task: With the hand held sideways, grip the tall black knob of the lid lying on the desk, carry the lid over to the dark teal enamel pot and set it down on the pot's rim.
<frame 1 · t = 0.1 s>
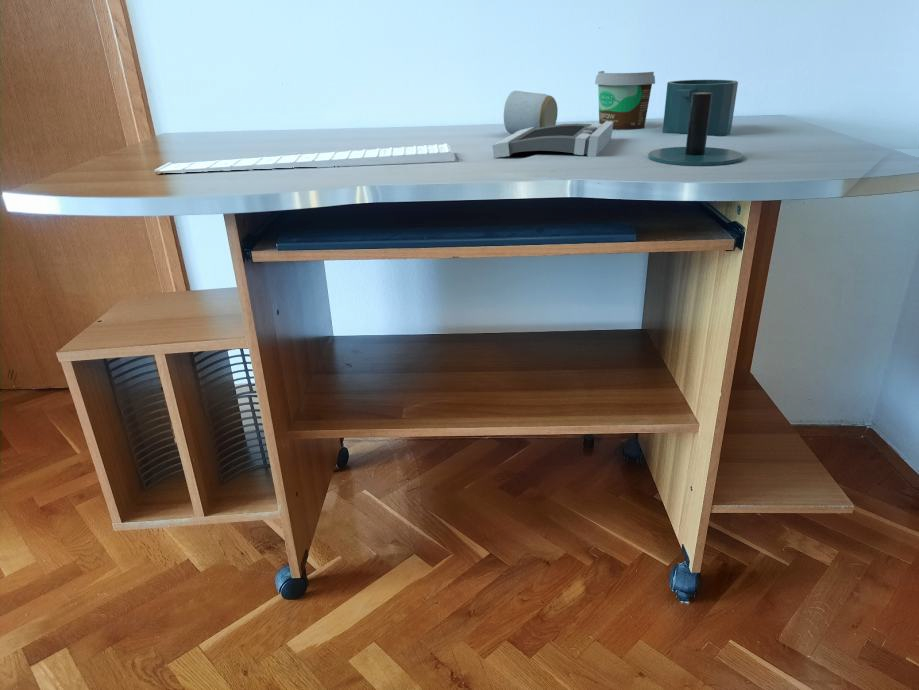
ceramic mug: (532, 135, 121), on the table
keyboard: (309, 165, 100), on the table
food container: (614, 128, 125), on the table
grey curved frame: (553, 151, 104), on the table
lid: (694, 157, 90), point 1 cm above the table
pot: (695, 132, 116), on the table
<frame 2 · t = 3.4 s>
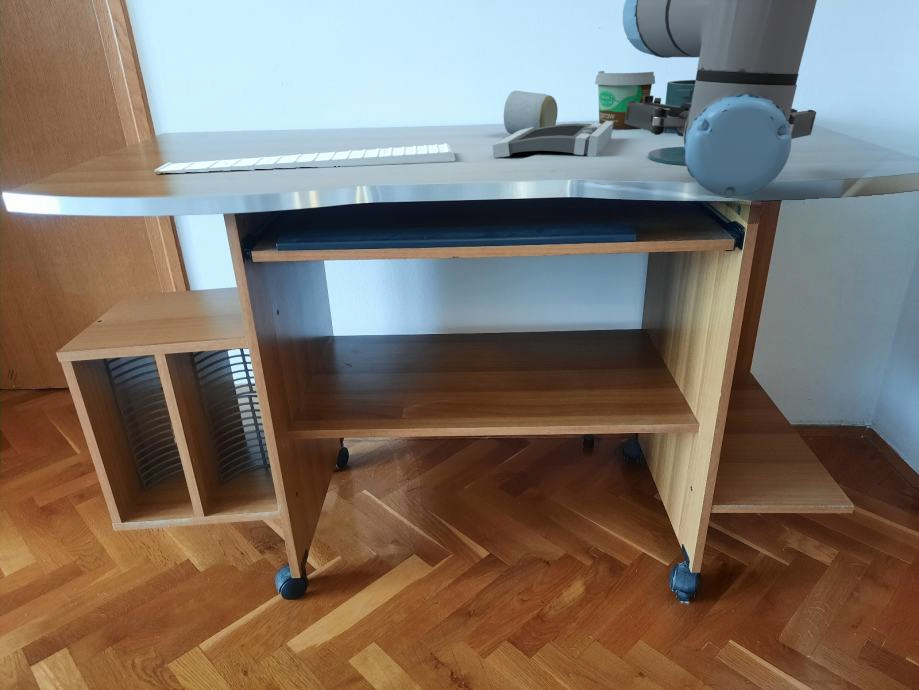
hand: (712, 112, 80), 8 cm above the table, tool horizontal, fingers open, 13 cm apart
nothing on the table moved.
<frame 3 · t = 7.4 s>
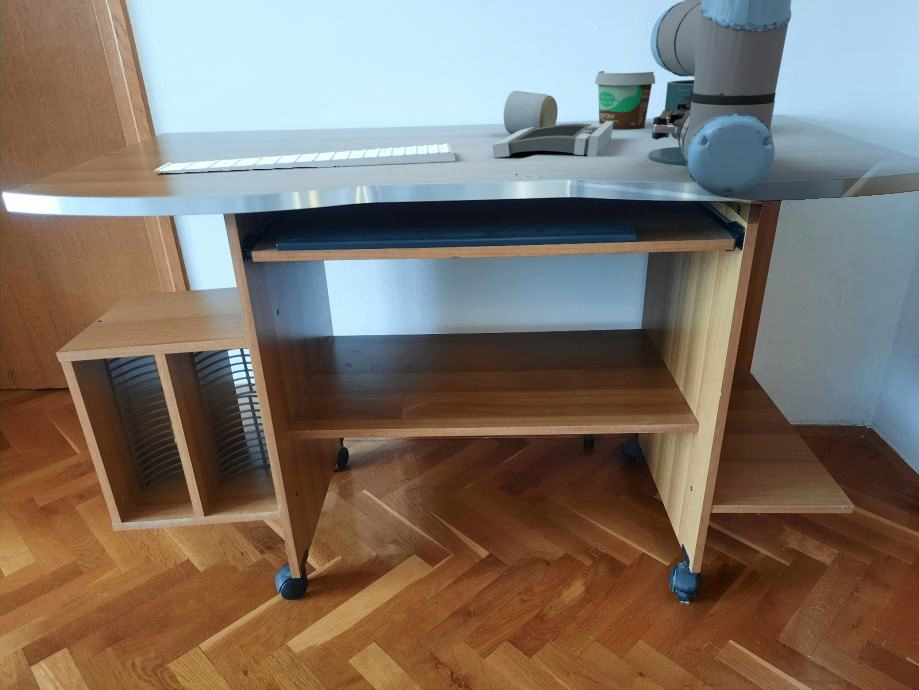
hand: (695, 112, 93), 6 cm above the table, tool horizontal, fingers closed on lid, 3 cm apart
lid: (694, 157, 90), point 1 cm above the table, touching gripper
everything else where it was.
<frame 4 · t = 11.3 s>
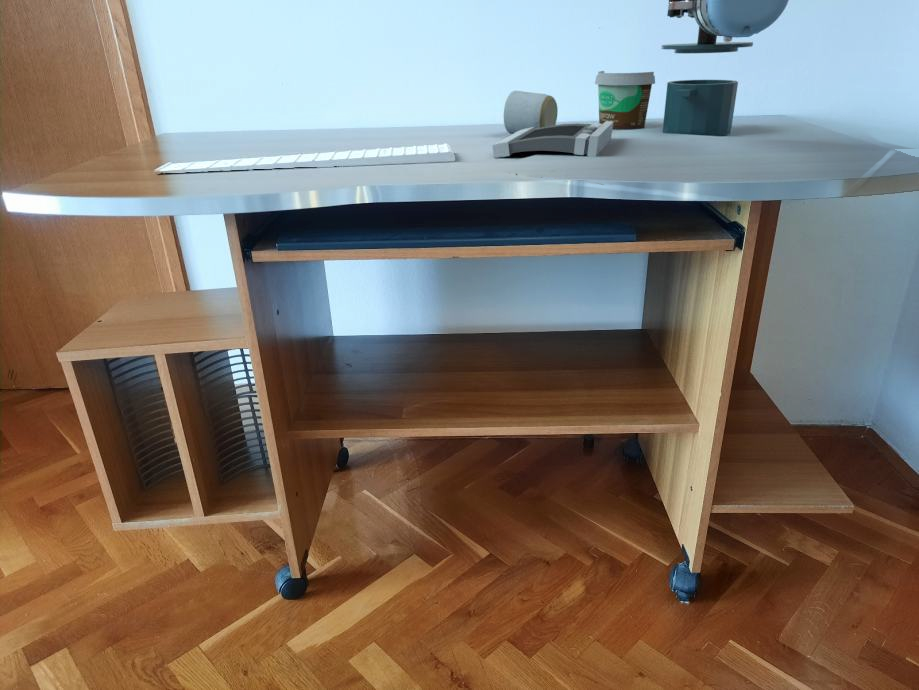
hand: (706, 7, 96), 20 cm above the table, tool horizontal, fingers closed on lid, 3 cm apart
lid: (706, 47, 94), point 14 cm above the table, touching gripper
everything else where it was.
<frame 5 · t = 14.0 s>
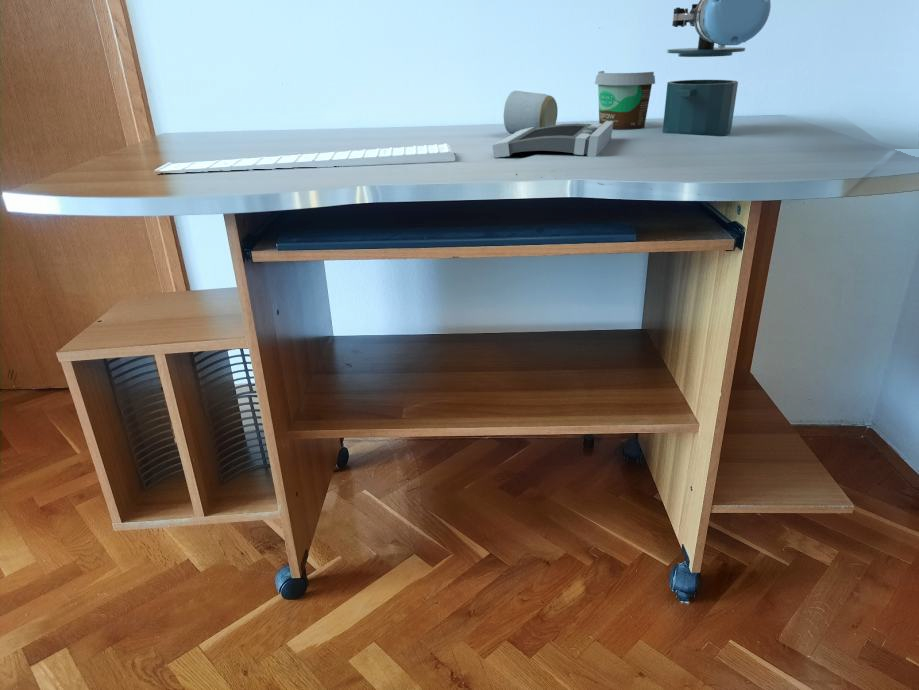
hand: (706, 17, 112), 19 cm above the table, tool horizontal, fingers closed on lid, 3 cm apart
lid: (705, 51, 110), point 13 cm above the table, touching gripper
everything else where it was.
when the fingers open (14 cm above the table, at t = 15.6 s): lid stays where it is, resting on pot.
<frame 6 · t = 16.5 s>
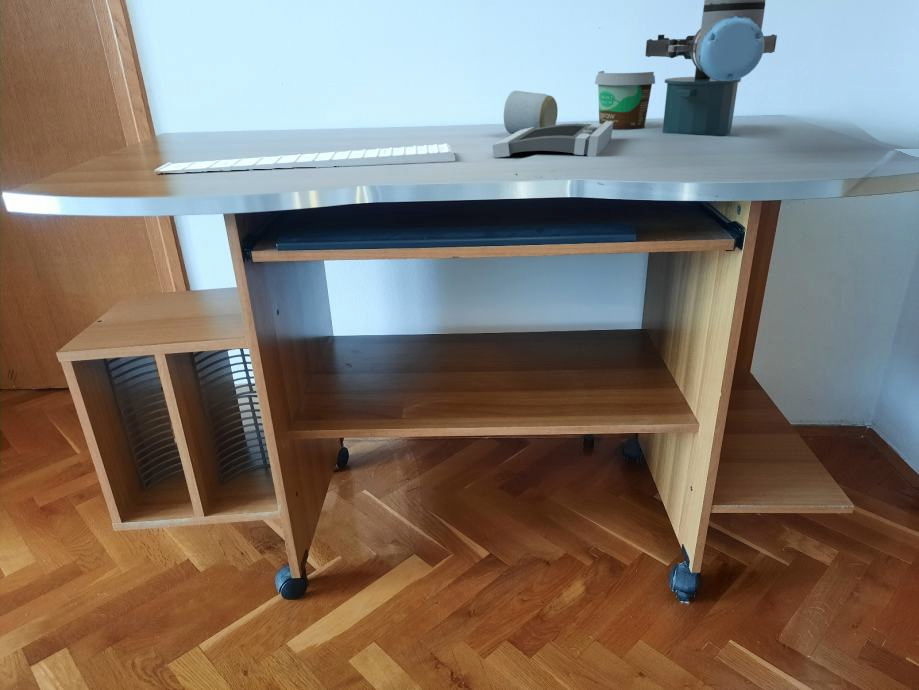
hand: (704, 45, 113), 14 cm above the table, tool horizontal, fingers open, 13 cm apart
lid: (701, 81, 112), point 8 cm above the table, touching pot
everything else where it was.
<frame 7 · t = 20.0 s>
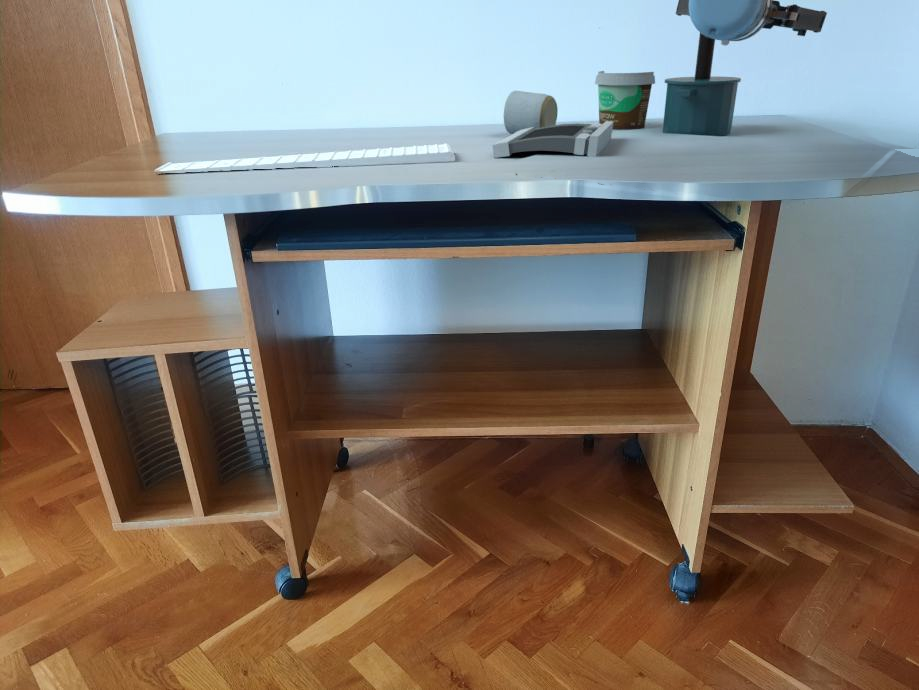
hand: (752, 15, 99), 18 cm above the table, tool horizontal, fingers open, 13 cm apart
nothing on the table moved.
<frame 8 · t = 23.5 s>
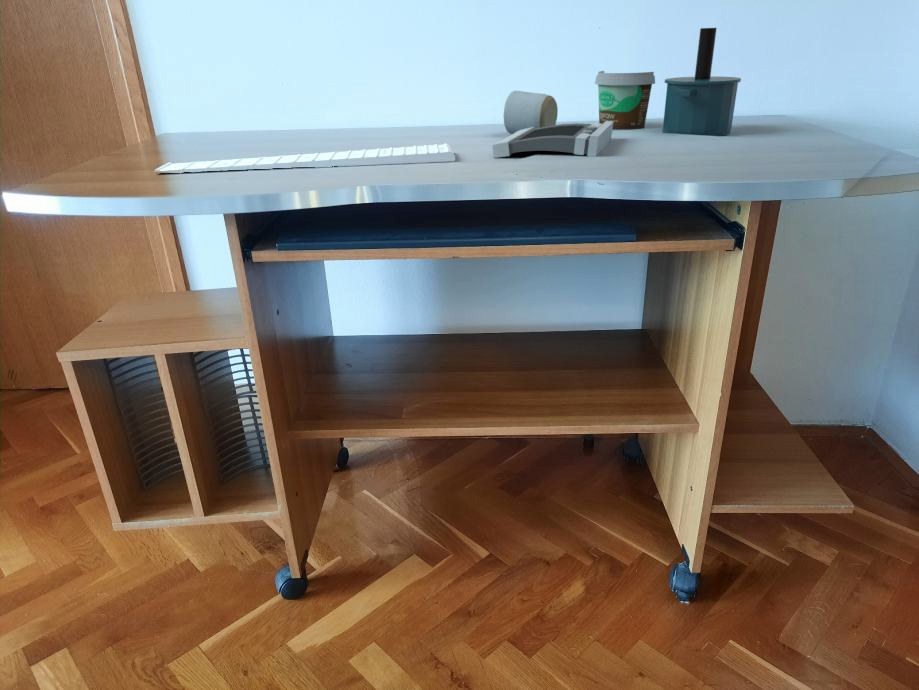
nothing on the table moved.
at the end: lid 0.0 cm off-centre on the pot, point 8.5 cm above the pot's base; lid tilted 0°; the gripper is holding nothing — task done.
